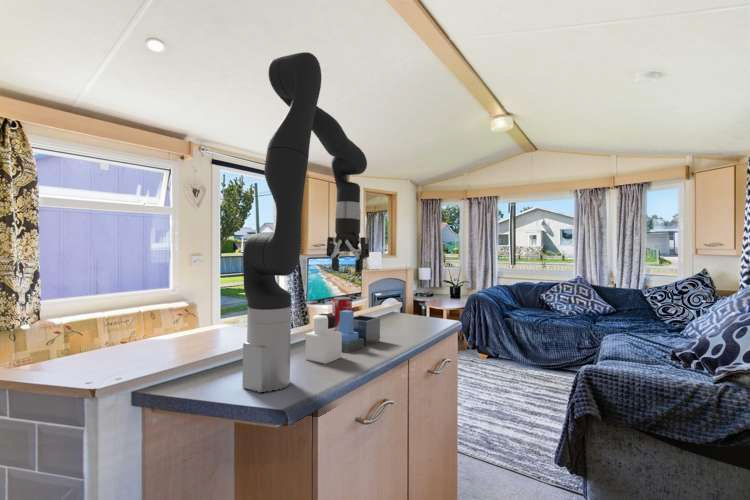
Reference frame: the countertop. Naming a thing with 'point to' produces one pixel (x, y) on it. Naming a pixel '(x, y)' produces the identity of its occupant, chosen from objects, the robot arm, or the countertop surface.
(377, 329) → the grey square tube
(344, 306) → the soda can
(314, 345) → the medicine bottle
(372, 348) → the countertop surface
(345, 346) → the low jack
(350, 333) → the plug
